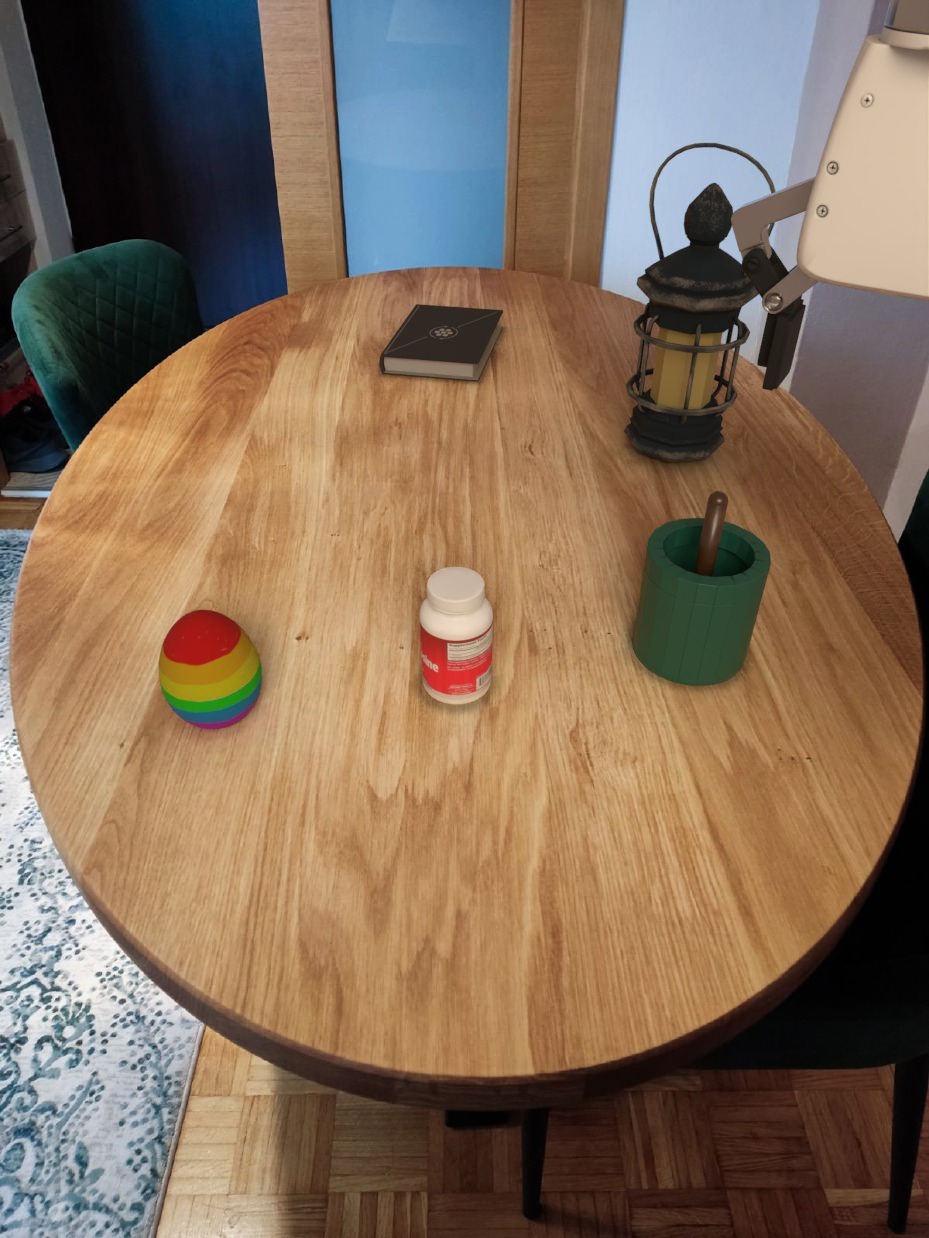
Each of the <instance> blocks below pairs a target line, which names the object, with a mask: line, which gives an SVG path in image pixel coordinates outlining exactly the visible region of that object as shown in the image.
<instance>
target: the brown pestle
mask: <svg viewBox="0 0 929 1238" xmlns="http://www.w3.org/2000/svg"><path fill="white" fill-rule="evenodd" d="M728 505H729V497H728V494H726V493H725V492H724V491H722V490H716V491H713V492H712V493H710V495H709V496H708V498H707V504H706V507H705V508H706V509H705V514H704V517H703V518H704V523H703V528H702V533H701V538H700V543H699V548H698V553H697V558H696V563H695V568H694V573H695V574H699V575H702V576H710V577H712V575H713V570H714V566H715V561H716V557H717V552H718V547H719V543H720V538H721V533H722V529H723V524H724V522H725V519H726V516H727V510H728Z"/></svg>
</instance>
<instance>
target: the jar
mask: <svg viewBox="0 0 929 1238" xmlns="http://www.w3.org/2000/svg"><path fill="white" fill-rule="evenodd" d="M704 518H705V517H687V518H679V519H675V520H672V521H667V522H664V524H662V525H659V527H656V528H655V529H654V530H653V532H652V533H651V534H650V536H649V537H648V539H647V544H646V550H645V551H646V552H645V558H644V564H643V571H642V576H641V583H640V589H639V597H638V602H637V609H636V616H635V622H634V629H633V636H632V649H633V651H634V654H635V656H636V657H637V659H638V661H639V662H640V663H641V664H642V665H643V666H644V667H645V668H646V669H647V670H649V671H650V672H652V673H653V674H654V675H657V676H658V677H660V678H662V679H665V680H667V681H670V682H673V683H677V684H681V685H686V686H698V687H701V686H712V685H717V684H721V683H723V682H726V681H728V680H730V679H732V678H734V677H735V676H736V675H737V674H738V673H739V672H741V670H742V668H743V666H744V663H745V661H746V658H747V655H748V652H749V648H750V644H751V642H752V641H751V640H752V636H753V632H754V629H755V626H756V622H757V618H758V614H759V610H760V606H761V602H762V600H763V599H762V598H763V595H764V591H765V587H766V583H767V580H768V576H769V574H770V573H769V572H770V569H771V566H772V560H771V559H772V558H771V551H770V550H769V548H768V547H767V545H766V544H765V542H764V541H763V540H762V539H761V538H759V537H758V536H757V535H755V534H754V533H753V532H751V531H750V530H748V529H745V528H743V527H741V526H739V525H737V524H735V523H732V522H729V521H728V522H727V521H724V524H723V529H722V533H721V538H720V543H719V547H718V552H717V557H716V561H715V566H714V570H713V575H712V577H710V576H702V575H699V574H695V573H694V568H695V563H696V558H697V553H698V548H699V543H700V538H701V533H702V528H703V523H704Z"/></svg>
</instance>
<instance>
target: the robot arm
mask: <svg viewBox="0 0 929 1238" xmlns="http://www.w3.org/2000/svg"><path fill="white" fill-rule="evenodd" d="M819 160H820V161H819V163H818V168H817V170H816V174H815V176H813V177H810V178H808V179H805V180H803V181H799V182H798V183H795V184H792V185H790V186H788V187H785V188H782V189H780V190H777V191H776V192H774V193H772V194H771V193H770V194H767V195H763V196H761V197H758V198H756V199H754V200H751V201H749V202H746V203H744V204H742V205H741V206H740V207H738V208H737V209H736V210H735V211H733V214H732V217H731V224H732V231H733V234H734V238H735V241H736V244H737V248H738V252H739V253H740V256H741V259H742V260H741V264H742V268H743V270H744V272H745V273H746V275H747V276H748V278H749V279H750V281H751V282H752V284H753V285H754V287H755V288H756V290H757V291H758V293H759V295H758V296H760V298H761V306H762V309H763V310H764V311H765V312H766V313H767V314H766V319H765V324H764V328H763V333H762V337H761V343H760V345H759V346H760V347H759V352H758V355H757V363H756V364H757V366H758V367H762V368H765V372H764V377H763V381H762V387H761V388H762V390H766V391H769V392H770V391H771V392H773V391H774V390H778V388H779V387H780V386H781V384H782V383H783V382H784V380H785V379H786V378H787V376H788V375H789V374H790V372H791V369H792V366H793V361H794V357H795V353H796V349H797V346H798V341H799V337H800V332H801V328H802V324H803V321H804V320H803V319H804V315H805V312H806V307H807V305H806V304H804V301H805V299H803V295H804V294H805V293H807V291H809V290H810V289H811V288H813V287H814V286H815V285H816V284H817V283H819V282H820V283H823V284H828V285H832V286H835V287H842V288H848V289H852V290H853V289H854V290H859V291H864V292H871V293H876V294H882V295H883V294H884V295H890V296H895V297H901V298H902V297H903V298H908V299H915V300H921V301H925V302H926V301H927V302H929V0H889V3H888V7H887V10H886V15H885V19H884V24H883V27H882V32H881V33H879V34H878V33H877V34H871V35H868V36H866V38H864V40H863V43H862V45H861V46H860V49H859V51H858V54H857V56H856V58H855V60H854V63H853V66H852V68H851V70H850V73H849V76H848V78H847V81H846V83H845V86H844V89H843V91H842V94H841V97H840V99H839V102H838V105H837V107H836V111H835V113H834V116H833V119H832V122H831V125H830V129H829V132H828V134H827V139H826V141H825V145H824V148H823V150H822V154H821V157H820V159H819ZM803 213H804V216H803V219H802V223H801V228H800V232H799V237H798V242H797V246H796V247H797V248H796V264H795V265H794V266H793V267H791V269H789V270H788V269H787V268H786V266H785V265H784V263H783V261H782V260H781V258H780V256H779V255H778V254H777V252H776V251H775V249H774V247H772V245H771V243H770V239H768V238H770V237H769V235H768V228H769V226H770V224H772V223H774V222H775V223H777V222H779V221H782V220H786V219H788V218H791V217H793V216H796V215H799V214H803Z"/></svg>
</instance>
